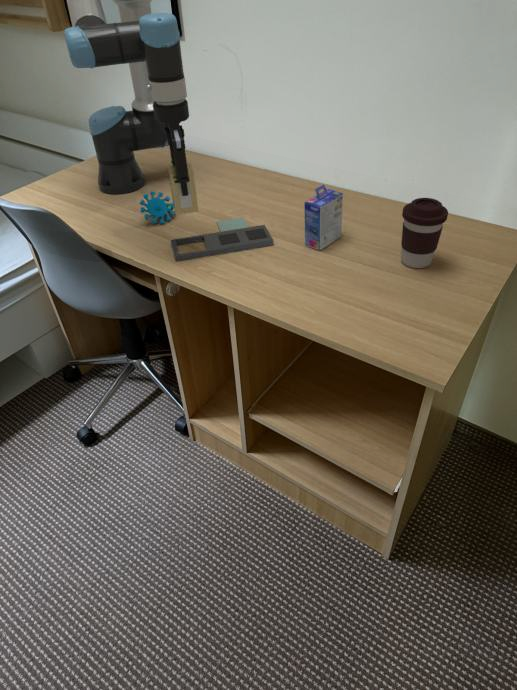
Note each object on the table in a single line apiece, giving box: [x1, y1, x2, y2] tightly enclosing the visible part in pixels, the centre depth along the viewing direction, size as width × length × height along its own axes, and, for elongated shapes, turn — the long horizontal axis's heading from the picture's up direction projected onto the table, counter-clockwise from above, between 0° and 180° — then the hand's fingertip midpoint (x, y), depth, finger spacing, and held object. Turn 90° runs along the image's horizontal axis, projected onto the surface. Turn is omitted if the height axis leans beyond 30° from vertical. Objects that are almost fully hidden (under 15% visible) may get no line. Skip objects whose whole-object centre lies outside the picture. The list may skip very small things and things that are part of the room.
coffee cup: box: [400, 197, 449, 269], centre depth 117 cm, size 10×10×15 cm
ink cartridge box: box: [304, 184, 344, 251], centre depth 126 cm, size 10×6×14 cm, turn 138°
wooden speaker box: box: [166, 162, 199, 216], centre depth 120 cm, size 6×6×10 cm
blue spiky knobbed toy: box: [139, 190, 175, 225], centre depth 144 cm, size 11×6×10 cm
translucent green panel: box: [216, 216, 249, 232], centre depth 139 cm, size 8×8×1 cm
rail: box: [170, 224, 274, 262], centre depth 131 cm, size 9×26×2 cm, turn 104°
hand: (184, 201), depth 122 cm, fingers closed on wooden speaker box, 5 cm apart
